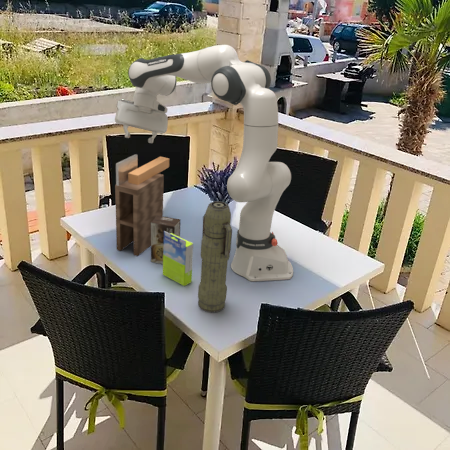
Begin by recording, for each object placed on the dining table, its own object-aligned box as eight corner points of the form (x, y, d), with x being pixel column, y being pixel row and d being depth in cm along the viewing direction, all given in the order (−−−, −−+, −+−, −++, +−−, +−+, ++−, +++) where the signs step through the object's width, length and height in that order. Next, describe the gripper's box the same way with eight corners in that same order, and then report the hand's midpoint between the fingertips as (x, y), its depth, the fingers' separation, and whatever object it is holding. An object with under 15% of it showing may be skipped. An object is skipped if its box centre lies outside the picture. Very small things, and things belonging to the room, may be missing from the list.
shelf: (142, 231, 207) (142, 170, 196) (162, 236, 204) (163, 174, 193) (116, 249, 192) (115, 184, 181) (137, 256, 189) (137, 190, 178)
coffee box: (180, 258, 190) (181, 219, 183) (173, 267, 184) (175, 226, 177) (156, 253, 192) (157, 214, 185) (150, 262, 186) (150, 221, 179)
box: (192, 282, 176) (194, 237, 169) (184, 287, 173) (186, 241, 166) (169, 270, 182) (171, 226, 174) (161, 275, 179) (162, 230, 171)
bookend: (135, 175, 191) (135, 154, 187) (137, 175, 190) (137, 154, 187) (116, 185, 181) (115, 163, 177) (118, 185, 180) (118, 164, 177)
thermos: (208, 291, 172) (214, 194, 157) (234, 307, 165) (243, 207, 149) (188, 301, 166) (193, 201, 151) (214, 318, 159) (222, 215, 144)
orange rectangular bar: (160, 165, 202) (160, 156, 200) (169, 167, 201) (169, 158, 199) (128, 182, 184) (128, 173, 182) (138, 184, 182) (137, 175, 181)
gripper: (120, 96, 190) (115, 133, 190) (171, 109, 200) (166, 144, 200) (115, 99, 196) (110, 135, 195) (165, 111, 206) (160, 146, 205)
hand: (139, 140), depth 198 cm, fingers open, 8 cm apart
